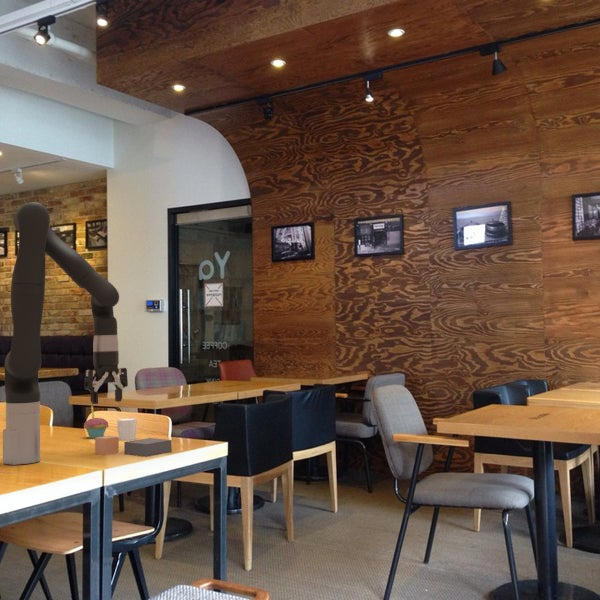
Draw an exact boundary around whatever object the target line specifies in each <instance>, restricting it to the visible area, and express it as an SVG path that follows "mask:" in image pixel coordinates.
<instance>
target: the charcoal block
mask: <svg viewBox="0 0 600 600" xmlns="http://www.w3.org/2000/svg"><path fill="white" fill-rule="evenodd" d="M172 441H173V440H172V439H167V438H165V439H164V438H157V437H156V438H155V437H147V438H139V439H134V440H126V441H124V452H123V453H124V455H128V454H129V456H136V455H137V457H146V458H147V457H151V456H157V455H158V456H159V455H163V454H169V453H172V452H173V451H172V449H173V445H172V444H173V443H172Z"/></svg>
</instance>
